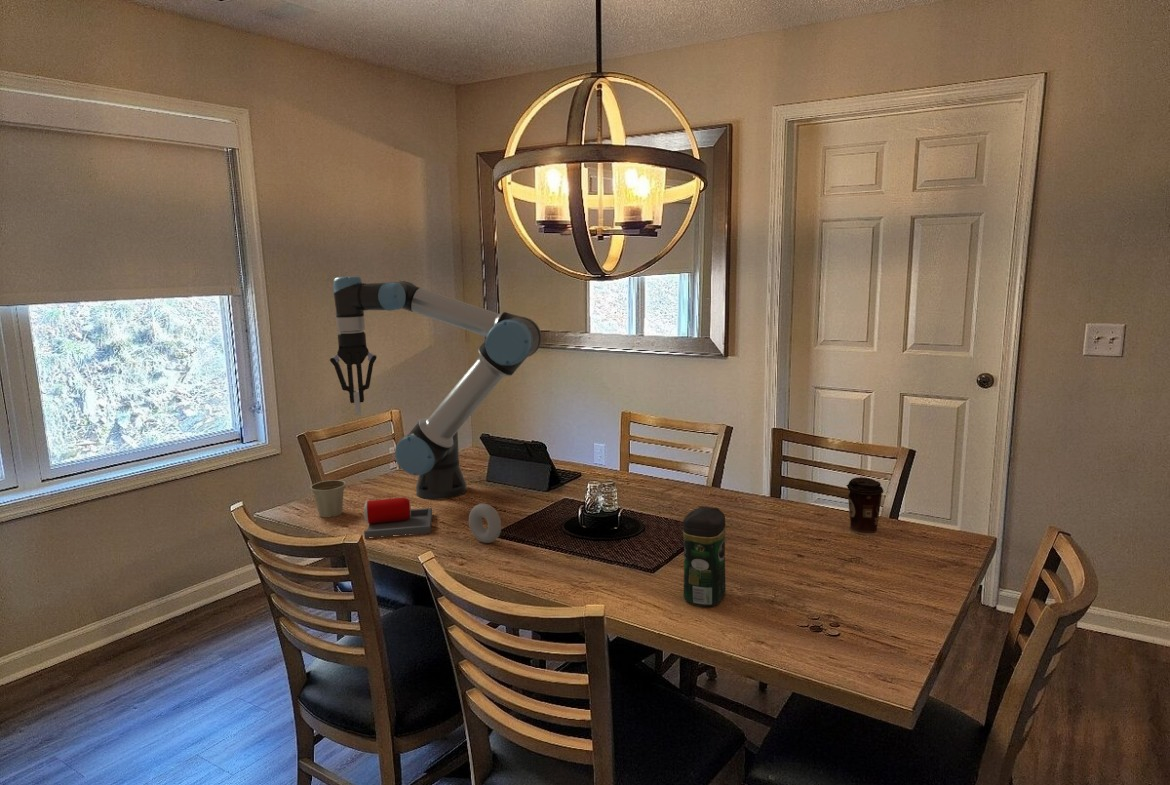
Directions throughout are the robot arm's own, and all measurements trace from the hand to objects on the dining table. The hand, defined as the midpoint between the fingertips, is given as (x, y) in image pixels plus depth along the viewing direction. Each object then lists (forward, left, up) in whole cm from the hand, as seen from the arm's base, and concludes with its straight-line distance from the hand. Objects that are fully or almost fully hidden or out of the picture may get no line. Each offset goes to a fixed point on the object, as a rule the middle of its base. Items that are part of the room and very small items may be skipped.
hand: (358, 413), depth 209 cm
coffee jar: (-77, +79, -27) cm, 114 cm away
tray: (-12, +21, -27) cm, 37 cm away
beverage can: (-2, +19, -24) cm, 30 cm away
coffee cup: (-128, +52, -27) cm, 141 cm away
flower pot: (+9, +7, -27) cm, 30 cm away
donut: (-34, +38, -27) cm, 58 cm away
